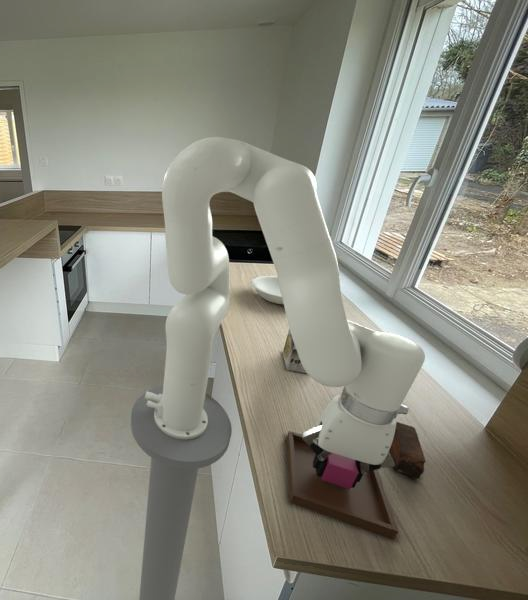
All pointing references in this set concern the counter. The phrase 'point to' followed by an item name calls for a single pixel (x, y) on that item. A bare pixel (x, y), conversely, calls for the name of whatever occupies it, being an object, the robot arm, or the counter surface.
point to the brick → (407, 451)
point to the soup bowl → (268, 288)
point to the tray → (338, 492)
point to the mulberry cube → (340, 471)
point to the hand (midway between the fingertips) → (333, 474)
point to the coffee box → (292, 355)
